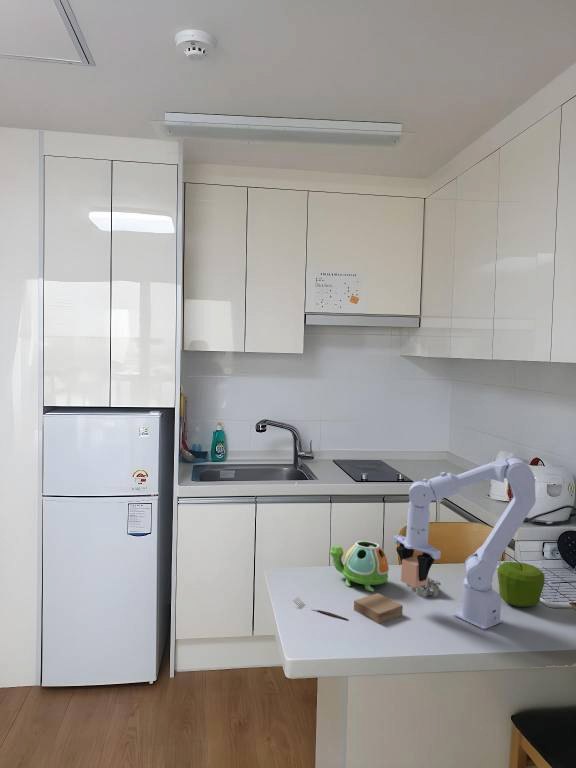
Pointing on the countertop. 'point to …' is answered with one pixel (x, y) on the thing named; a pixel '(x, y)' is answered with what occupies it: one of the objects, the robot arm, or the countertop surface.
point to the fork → (320, 611)
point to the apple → (520, 583)
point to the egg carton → (431, 589)
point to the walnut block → (378, 608)
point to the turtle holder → (362, 564)
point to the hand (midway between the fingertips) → (414, 576)
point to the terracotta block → (411, 572)
